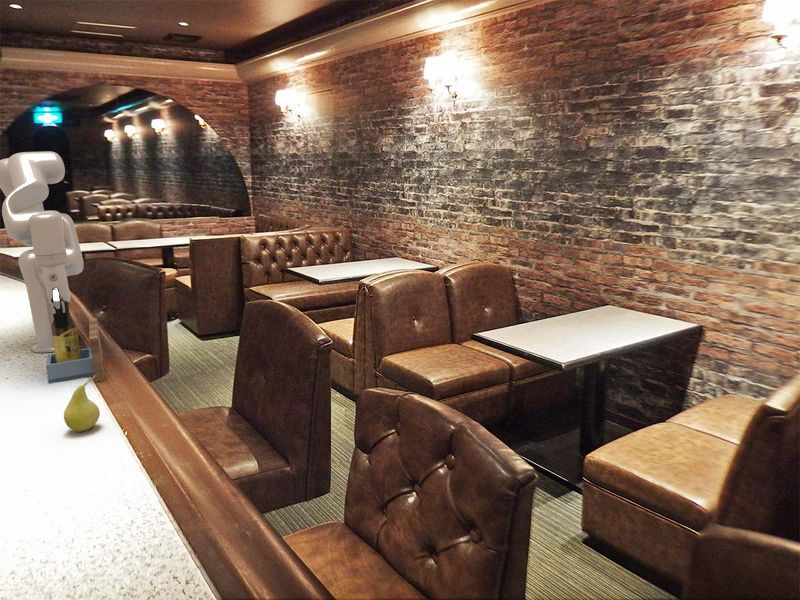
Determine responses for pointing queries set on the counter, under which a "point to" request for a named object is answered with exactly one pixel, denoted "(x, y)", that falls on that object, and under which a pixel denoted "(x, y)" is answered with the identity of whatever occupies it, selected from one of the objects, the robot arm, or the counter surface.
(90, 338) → the back board
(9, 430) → the counter surface
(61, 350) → the sauce bottle
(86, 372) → the caddy
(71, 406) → the fruit
